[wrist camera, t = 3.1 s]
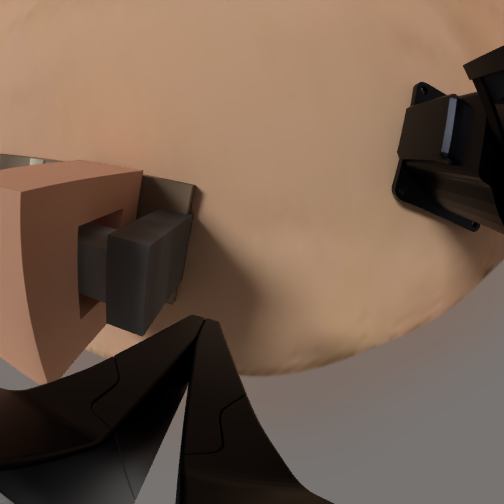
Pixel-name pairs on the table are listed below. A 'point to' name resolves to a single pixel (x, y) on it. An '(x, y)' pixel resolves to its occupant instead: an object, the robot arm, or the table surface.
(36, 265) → the collar
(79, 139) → the table surface
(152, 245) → the rail
